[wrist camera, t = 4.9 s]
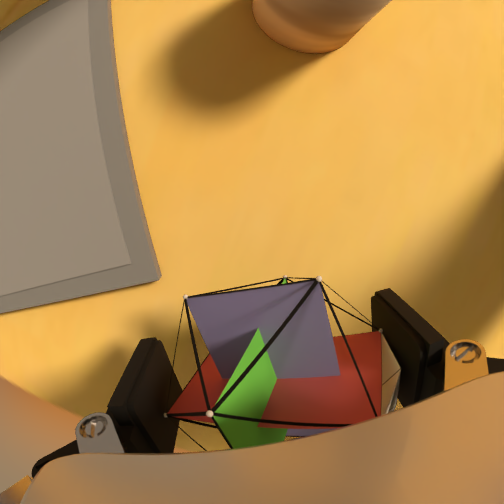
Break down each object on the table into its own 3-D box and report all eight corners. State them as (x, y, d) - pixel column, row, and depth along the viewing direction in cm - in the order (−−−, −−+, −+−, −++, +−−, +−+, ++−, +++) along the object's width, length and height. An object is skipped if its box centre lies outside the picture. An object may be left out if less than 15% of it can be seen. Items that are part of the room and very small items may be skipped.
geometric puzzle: (180, 441, 11) (304, 557, 5) (101, 315, 10) (210, 455, 3) (292, 358, 15) (432, 408, 9) (253, 236, 13) (434, 239, 7)
